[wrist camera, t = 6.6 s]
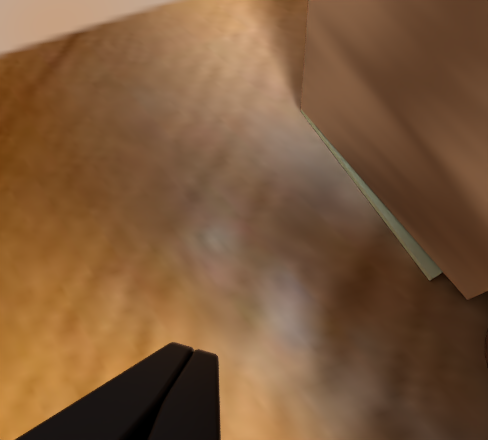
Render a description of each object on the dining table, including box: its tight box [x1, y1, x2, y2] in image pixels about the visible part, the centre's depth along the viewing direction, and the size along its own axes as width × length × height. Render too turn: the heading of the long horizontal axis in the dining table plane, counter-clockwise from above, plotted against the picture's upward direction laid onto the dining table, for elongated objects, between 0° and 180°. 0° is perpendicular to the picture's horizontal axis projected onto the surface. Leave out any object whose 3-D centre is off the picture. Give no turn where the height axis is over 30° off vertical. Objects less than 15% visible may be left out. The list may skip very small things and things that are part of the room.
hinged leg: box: [301, 0, 488, 300], centre depth 11 cm, size 9×2×9 cm, turn 34°
